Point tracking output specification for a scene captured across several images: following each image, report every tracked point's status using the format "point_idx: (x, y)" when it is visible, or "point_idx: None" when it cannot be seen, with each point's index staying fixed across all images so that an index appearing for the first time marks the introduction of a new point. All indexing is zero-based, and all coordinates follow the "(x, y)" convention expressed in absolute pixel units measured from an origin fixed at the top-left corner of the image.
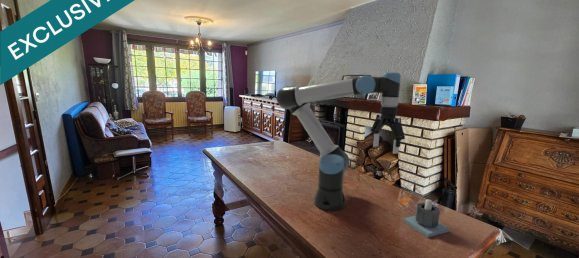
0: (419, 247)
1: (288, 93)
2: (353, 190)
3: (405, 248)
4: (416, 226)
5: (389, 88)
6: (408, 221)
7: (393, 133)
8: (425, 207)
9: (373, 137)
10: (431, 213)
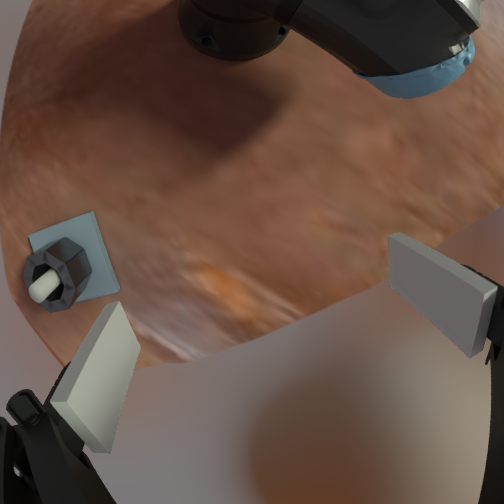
0: (8, 192)
1: None
2: (332, 139)
3: (6, 158)
4: (53, 226)
5: None
6: (74, 217)
7: (64, 479)
8: (45, 274)
9: (473, 271)
10: (24, 271)
